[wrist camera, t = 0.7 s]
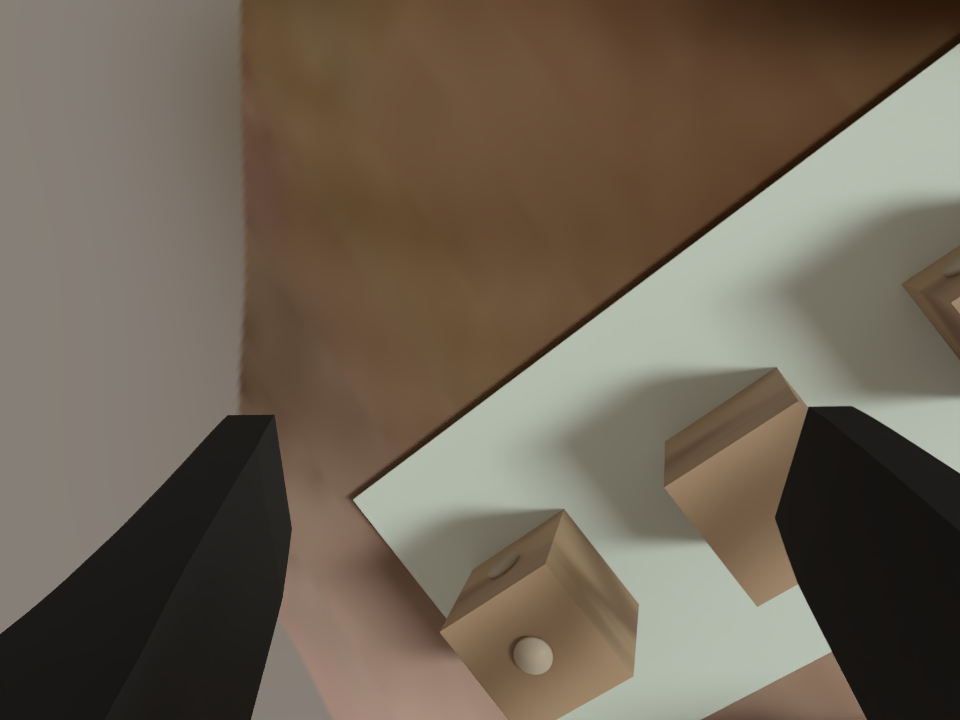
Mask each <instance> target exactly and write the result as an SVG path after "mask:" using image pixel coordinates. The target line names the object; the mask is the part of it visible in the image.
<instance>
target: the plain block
mask: <svg viewBox="0 0 960 720" xmlns="http://www.w3.org/2000/svg"><path fill="white" fill-rule="evenodd" d="M807 410H808V407H807V406H806V404H805V403H804V402H803V400H802V399H801V398H800V397H799V395H798V394H797V393H796V391H795V390H794V389H793V388H792V386H791V385H790V384H789V382H788V381H787V380H786V379H785V377H784V376H783V375H782V373H781V372H780V371H779V370H778V368H777V367H776V368H775V369H773V370H772V371H770V372H769V373H767V374H766V375H764V376H763V377H761V378H760V379H758V380H757V381H755V382H754V383H752V384H751V385H749V386H748V387H746V388H745V389H743V390H742V391H740V392H739V393H737V394H736V395H734V396H733V397H731V398H730V399H728V400H727V401H725V402H724V403H722V404H721V405H719V406H718V407H716V408H715V409H713V410H712V411H710V412H709V413H707V414H706V415H704V416H703V417H701V418H700V419H698V420H697V421H695V422H694V423H692V424H691V425H689V426H688V427H686V428H685V429H683V430H682V431H680V432H679V433H677V434H676V435H674V436H673V437H671V438H670V439H668V440H667V441H665V463H664V488H665V489H666V491H667V492H668V493H669V495H670V496H671V497H672V498H673V500H674V501H675V502H676V504H677V505H678V506H679V507H680V509H681V510H682V511H683V513H684V514H685V515H686V516H687V518H688V519H689V520H690V522H691V523H692V524H693V525H694V527H695V528H696V529H697V531H698V532H699V533H700V534H701V536H702V537H703V538H704V539H705V541H706V542H707V543H708V545H709V546H710V547H711V548H712V550H713V551H714V552H715V554H716V555H717V556H718V557H719V559H720V560H721V561H722V563H723V564H724V565H725V566H726V568H727V569H728V570H729V572H730V573H731V574H732V575H733V577H734V578H735V579H736V581H737V582H738V583H739V584H740V586H741V587H742V588H743V589H744V591H745V592H746V593H747V595H748V596H749V597H750V598H751V600H752V601H753V602H754V604H755V605H756V606H757V607H758V606H760V605H762V604H764V603H765V602H767V601H769V600H771V599H773V598H774V597H776V596H778V595H780V594H782V593H783V592H785V591H787V590H789V589H790V588H792V587H794V586H796V585H798V583H797V580H796V577H795V575H794V572H793V569H792V567H791V564H790V561H789V559H788V556H787V553H786V550H785V547H784V544H783V541H782V538H781V535H780V532H779V529H778V526H777V523H776V520H775V515H776V512H777V509H778V505H779V502H780V499H781V496H782V492H783V489H784V486H785V482H786V479H787V476H788V473H789V469H790V466H791V463H792V459H793V456H794V453H795V450H796V446H797V443H798V440H799V437H800V433H801V430H802V427H803V423H804V420H805V417H806V414H807Z"/></svg>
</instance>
